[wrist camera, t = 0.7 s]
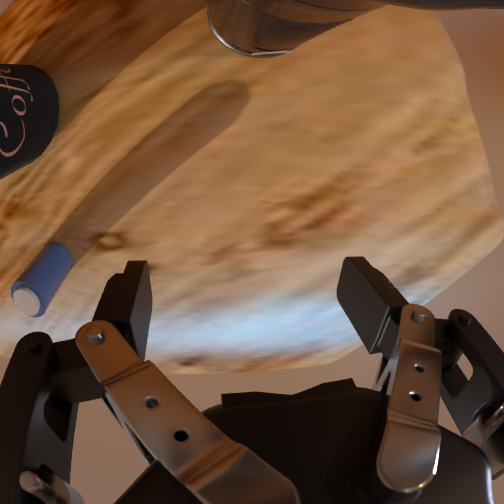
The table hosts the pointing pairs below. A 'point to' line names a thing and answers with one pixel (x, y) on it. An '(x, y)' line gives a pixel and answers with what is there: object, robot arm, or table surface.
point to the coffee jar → (25, 115)
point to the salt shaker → (41, 279)
